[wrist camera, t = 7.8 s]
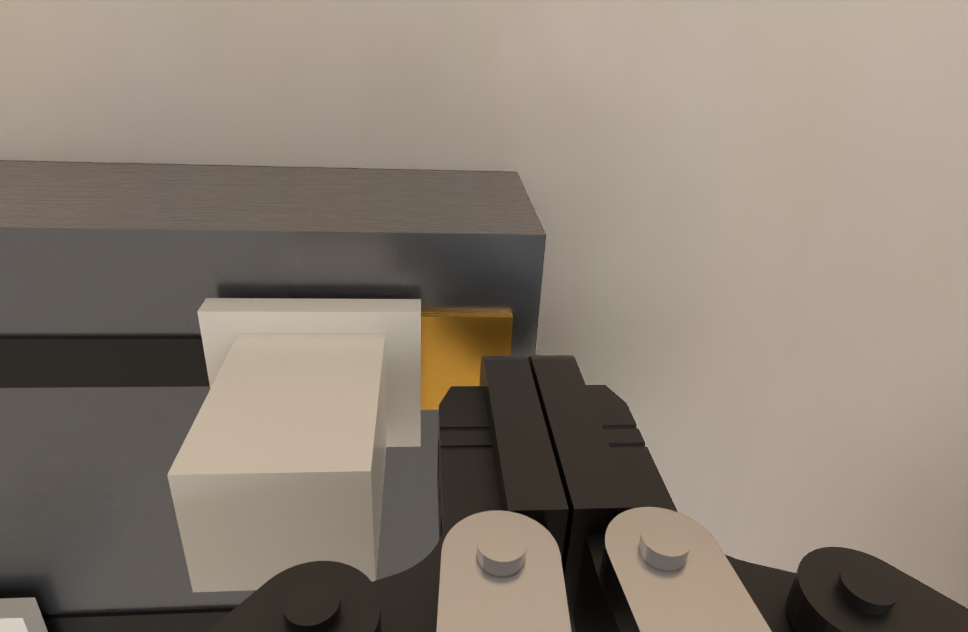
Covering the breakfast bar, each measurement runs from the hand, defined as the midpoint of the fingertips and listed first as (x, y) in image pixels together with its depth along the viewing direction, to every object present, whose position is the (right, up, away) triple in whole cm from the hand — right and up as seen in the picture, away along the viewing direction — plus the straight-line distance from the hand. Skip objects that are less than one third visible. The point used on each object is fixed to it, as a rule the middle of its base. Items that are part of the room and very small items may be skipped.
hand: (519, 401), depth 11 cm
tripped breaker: (-4, +1, +1) cm, 4 cm away
